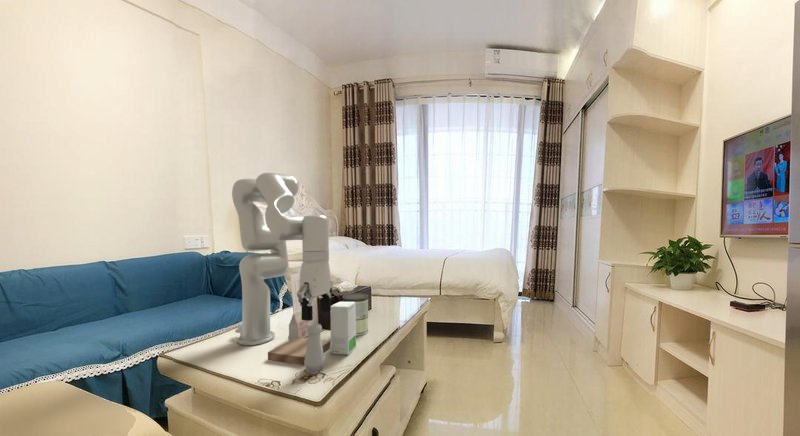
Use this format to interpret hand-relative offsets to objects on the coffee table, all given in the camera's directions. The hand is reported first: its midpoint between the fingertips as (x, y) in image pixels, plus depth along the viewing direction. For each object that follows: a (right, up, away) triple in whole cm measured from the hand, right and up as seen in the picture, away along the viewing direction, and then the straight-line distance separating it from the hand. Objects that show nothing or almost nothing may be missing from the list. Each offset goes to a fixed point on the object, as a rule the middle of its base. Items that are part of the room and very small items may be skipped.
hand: (316, 315), depth 92 cm
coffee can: (+7, -17, +32) cm, 37 cm away
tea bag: (-13, -17, +25) cm, 33 cm away
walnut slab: (-8, -16, +11) cm, 21 cm away
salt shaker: (-1, -16, 0) cm, 16 cm away
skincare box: (+5, -16, +14) cm, 22 cm away
